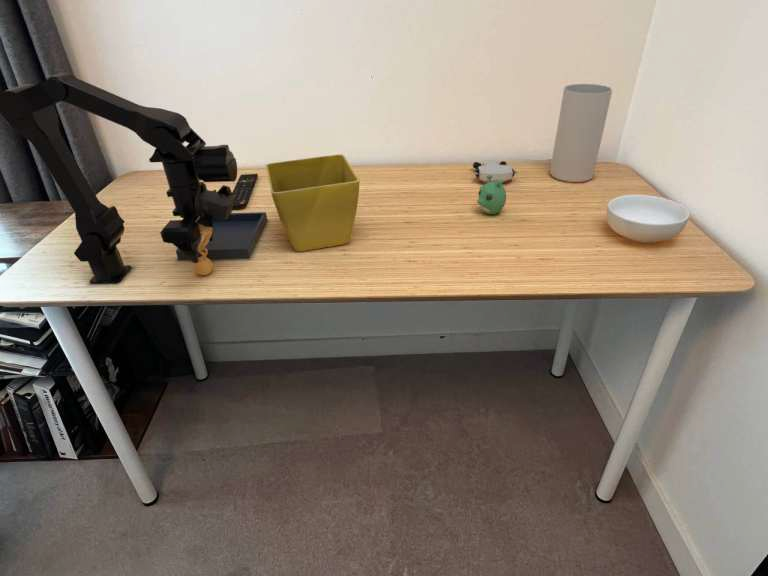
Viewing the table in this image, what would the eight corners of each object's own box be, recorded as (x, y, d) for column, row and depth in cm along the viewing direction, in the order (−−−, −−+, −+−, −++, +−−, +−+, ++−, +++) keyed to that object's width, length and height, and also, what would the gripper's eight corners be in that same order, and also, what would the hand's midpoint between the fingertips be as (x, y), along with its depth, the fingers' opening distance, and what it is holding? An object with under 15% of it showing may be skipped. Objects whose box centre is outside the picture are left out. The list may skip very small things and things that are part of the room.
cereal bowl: (640, 214, 122) (648, 188, 118) (696, 243, 109) (707, 215, 105) (586, 227, 117) (592, 200, 113) (638, 259, 104) (647, 230, 100)
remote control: (258, 177, 152) (257, 173, 152) (246, 209, 133) (245, 204, 132) (241, 178, 152) (240, 174, 151) (226, 210, 132) (225, 206, 132)
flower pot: (283, 262, 108) (271, 192, 99) (276, 226, 123) (265, 162, 114) (364, 248, 112) (360, 180, 103) (348, 215, 127) (343, 153, 118)
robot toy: (468, 172, 153) (475, 186, 140) (469, 158, 151) (476, 171, 138) (506, 171, 152) (517, 185, 139) (508, 157, 150) (519, 170, 137)
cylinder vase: (541, 171, 149) (555, 86, 135) (575, 166, 152) (592, 82, 138) (565, 185, 139) (582, 95, 125) (601, 179, 142) (622, 90, 128)
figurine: (203, 263, 109) (189, 215, 102) (229, 263, 108) (217, 215, 102) (189, 284, 102) (173, 234, 95) (216, 284, 101) (203, 233, 95)
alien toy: (469, 211, 127) (472, 175, 121) (493, 205, 130) (496, 169, 124) (486, 221, 122) (489, 184, 116) (510, 215, 124) (514, 178, 119)
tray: (249, 258, 110) (247, 249, 109) (178, 260, 110) (175, 250, 109) (267, 220, 126) (266, 212, 125) (205, 222, 127) (203, 213, 125)
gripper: (209, 200, 85) (228, 274, 94) (237, 164, 101) (251, 230, 109) (148, 202, 85) (172, 275, 94) (185, 165, 101) (203, 231, 110)
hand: (203, 251), depth 102 cm, fingers open, 9 cm apart
